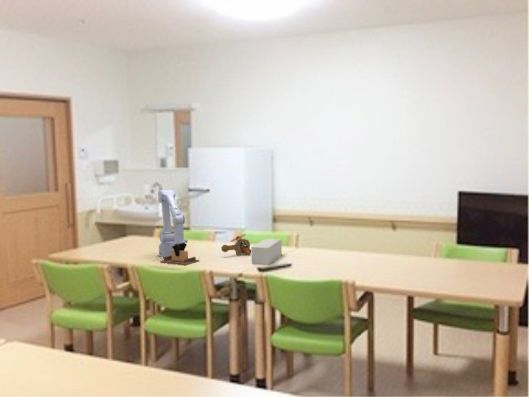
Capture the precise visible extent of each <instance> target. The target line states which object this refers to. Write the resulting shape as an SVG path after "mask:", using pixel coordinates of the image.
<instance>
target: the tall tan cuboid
mask: <svg viewBox="0 0 529 397" xmlns="http://www.w3.org/2000/svg"><path fill="white" fill-rule="evenodd" d="M188 252H189V251H188V250H184V251H183V250H179V256H176V255H175V252H174V250H172V260H176V261H184V260H185V259H188V258H189V253H188Z"/></svg>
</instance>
